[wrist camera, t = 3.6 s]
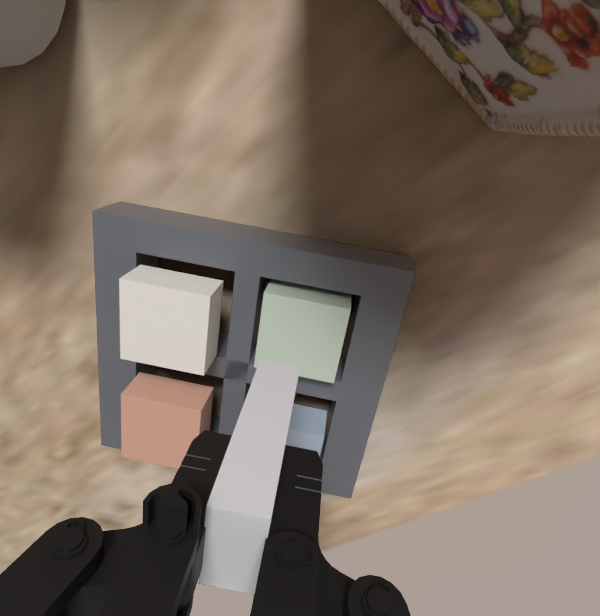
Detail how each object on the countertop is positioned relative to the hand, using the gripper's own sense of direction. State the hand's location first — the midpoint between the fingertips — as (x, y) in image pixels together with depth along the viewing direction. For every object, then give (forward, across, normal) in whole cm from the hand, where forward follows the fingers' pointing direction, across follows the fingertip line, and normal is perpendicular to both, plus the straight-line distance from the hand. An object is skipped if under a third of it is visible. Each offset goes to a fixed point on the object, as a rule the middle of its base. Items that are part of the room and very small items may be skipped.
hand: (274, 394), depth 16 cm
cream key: (+6, -5, 0) cm, 8 cm away
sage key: (+8, +1, 0) cm, 8 cm away
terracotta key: (+6, -5, -6) cm, 10 cm away
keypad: (+8, -2, -3) cm, 9 cm away
